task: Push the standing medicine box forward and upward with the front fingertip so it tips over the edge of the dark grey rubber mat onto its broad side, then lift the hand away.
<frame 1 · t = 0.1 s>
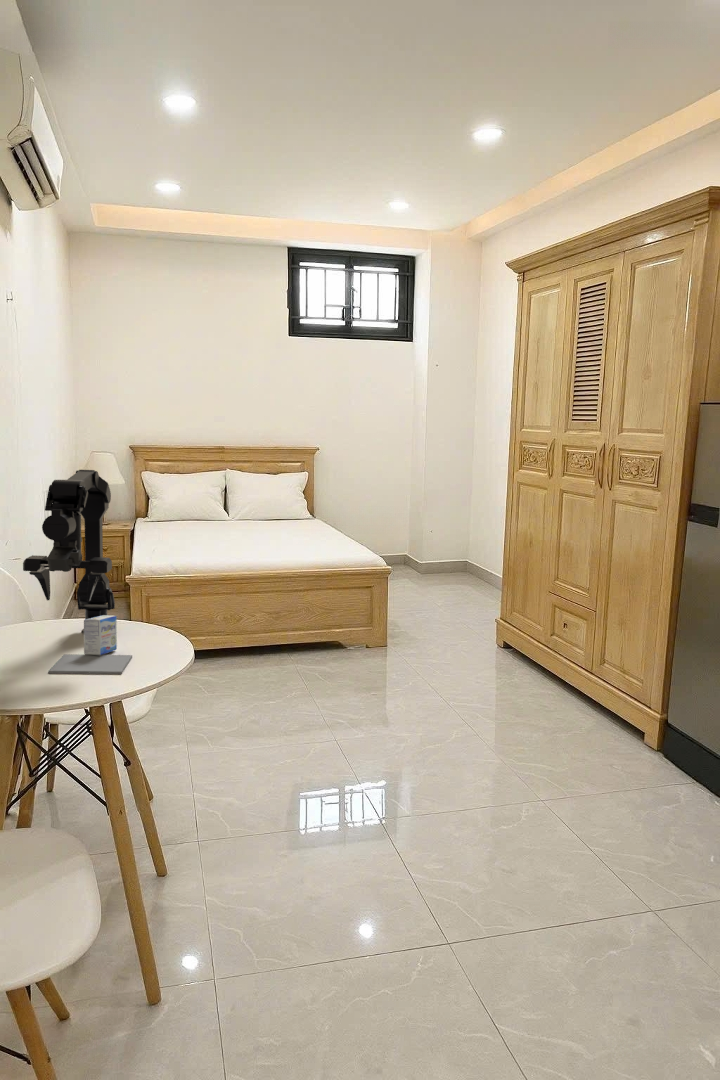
hand: (68, 600, 183), 15 cm above the table, fingers open, 9 cm apart
medicine box: (100, 653, 191), on the table, touching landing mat
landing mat: (91, 665, 183), on the table
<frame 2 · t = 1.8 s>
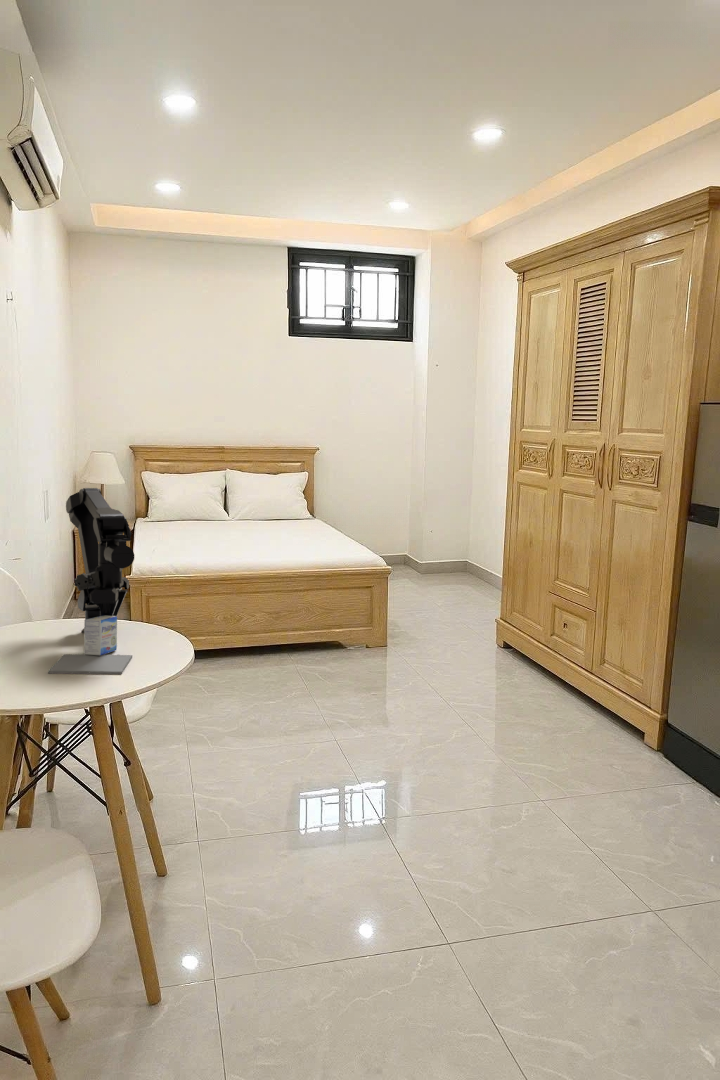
hand: (110, 621, 202), 5 cm above the table, fingers open, 8 cm apart
medicine box: (100, 653, 191), on the table, touching gripper, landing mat
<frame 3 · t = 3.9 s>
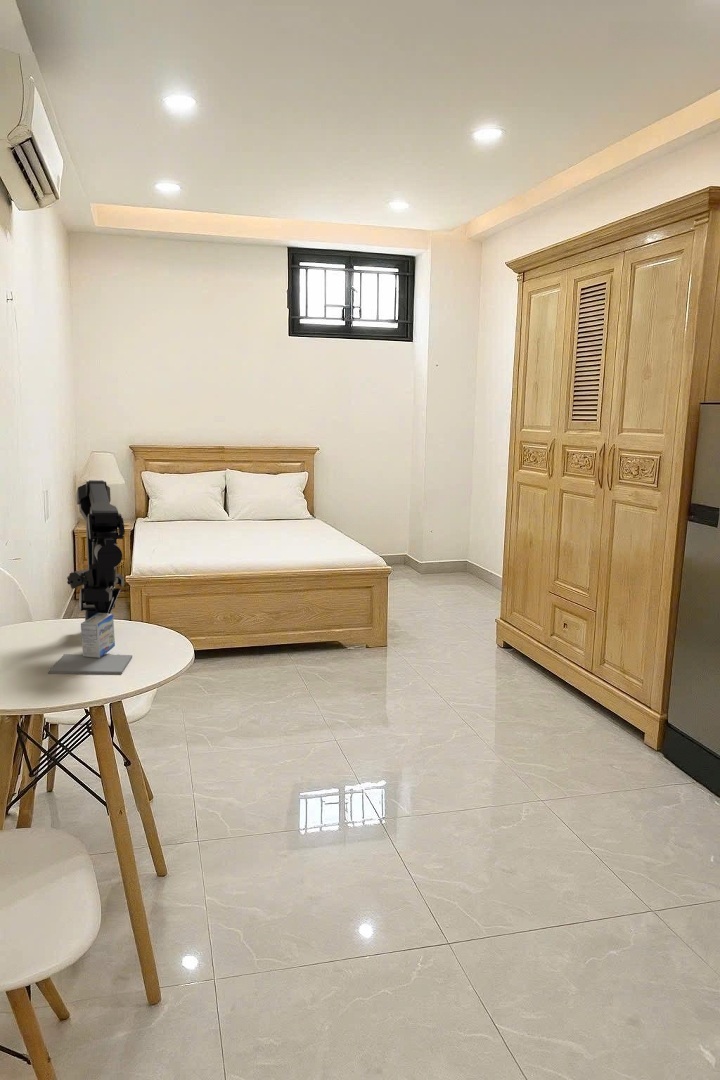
hand: (104, 620, 196), 7 cm above the table, fingers open, 4 cm apart
medicine box: (99, 652, 190), point 1 cm above the table, touching gripper, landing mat
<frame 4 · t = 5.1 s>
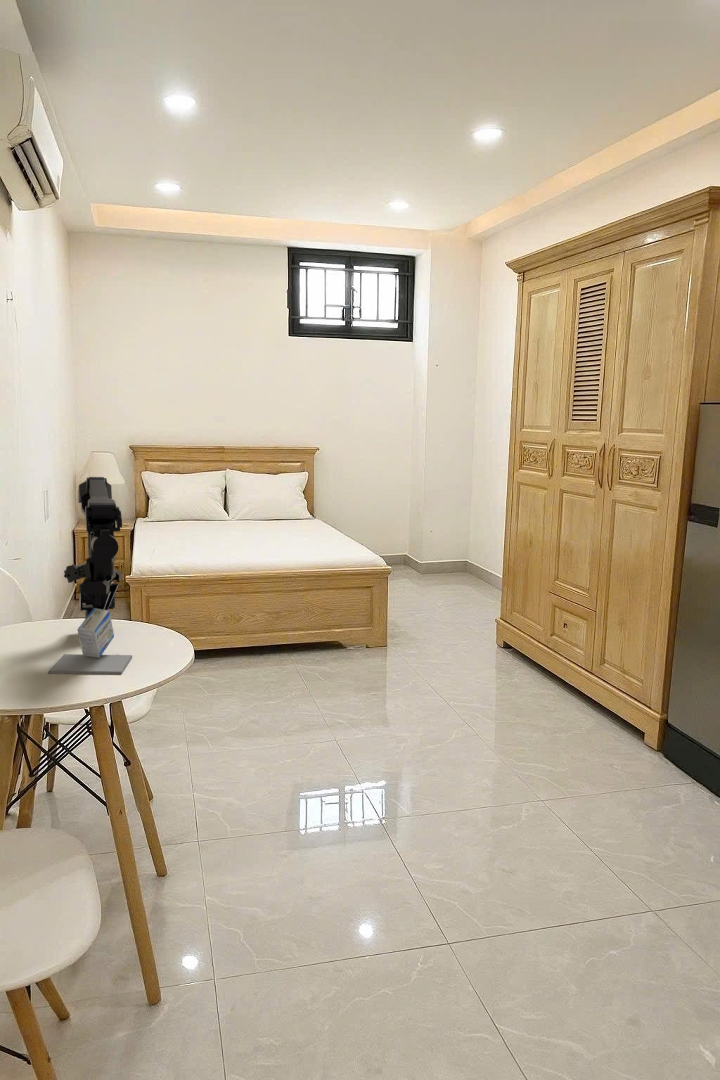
hand: (101, 615, 193), 9 cm above the table, fingers open, 6 cm apart
medicine box: (98, 646, 189), point 2 cm above the table, touching gripper, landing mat
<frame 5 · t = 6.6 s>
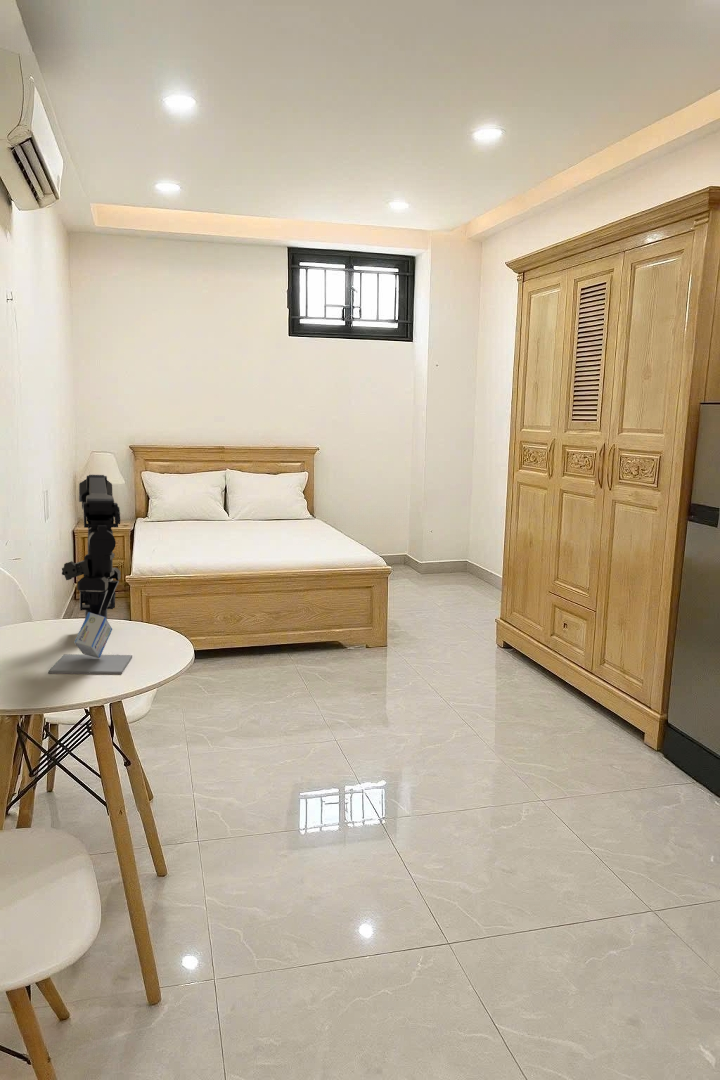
hand: (99, 613, 190), 10 cm above the table, fingers open, 9 cm apart
medicine box: (97, 641, 188), point 4 cm above the table, touching gripper, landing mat
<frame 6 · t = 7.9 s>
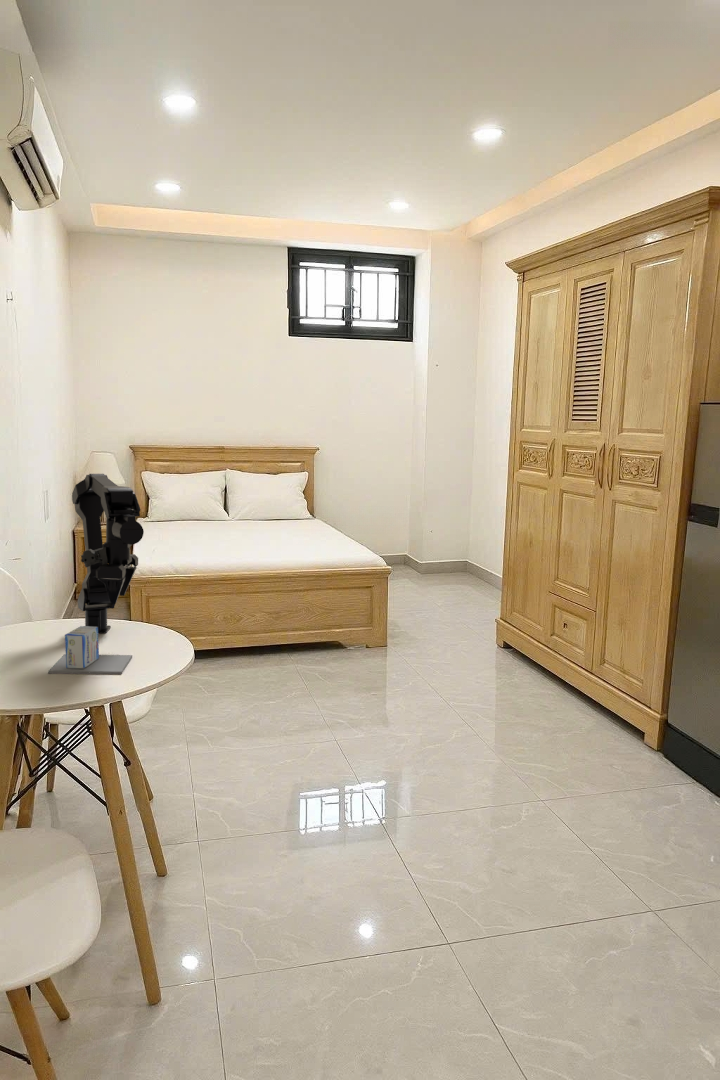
hand: (117, 599, 196), 12 cm above the table, fingers open, 9 cm apart
medicine box: (90, 641, 186), point 5 cm above the table, touching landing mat
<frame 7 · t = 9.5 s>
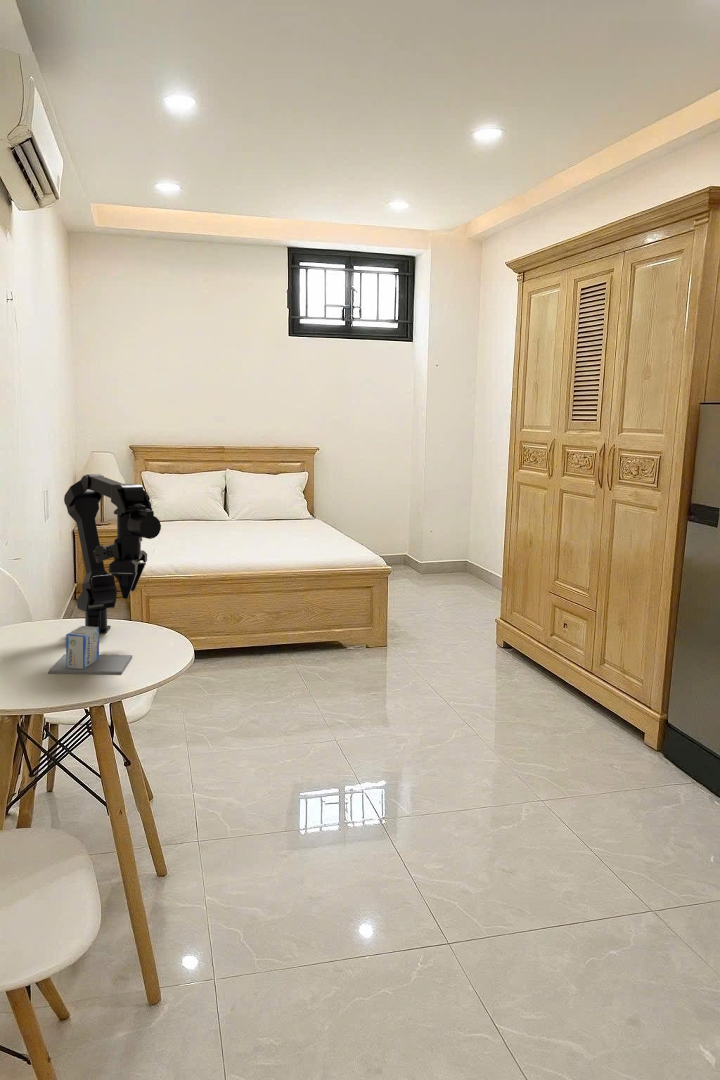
hand: (128, 594, 199), 13 cm above the table, fingers open, 9 cm apart
nothing on the table moved.
at the end: medicine box tilted 90°; medicine box touching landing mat; medicine box moved 7.2 cm from its start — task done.
